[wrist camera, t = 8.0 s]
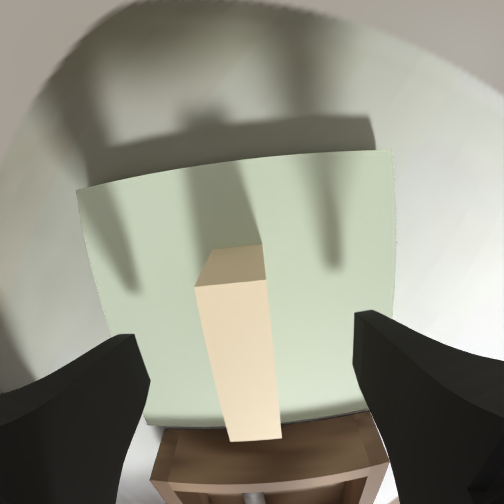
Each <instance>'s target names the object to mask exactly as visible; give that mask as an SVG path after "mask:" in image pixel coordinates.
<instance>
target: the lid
mask: <svg viewBox="0 0 504 504" xmlns="http://www.w3.org/2000/svg"><path fill="white" fill-rule="evenodd" d="M76 195H77V201H78V207H79V213H80V218H81V224H82V229H83V234H84V239H85V243H86V248H87V252H88V256H89V261H90V265H91V269H92V273H93V277H94V280H95V284H96V288H97V291H98V295H99V298H100V302H101V305H102V308H103V312H104V315H105V318H106V321H107V324H108V327H109V330H110V333H111V336H112V337H113V336H116V335H118V334H135V337H136V340H137V343H138V346H139V349H140V352H141V355H142V358H143V361H144V364H145V366H146V369H147V372H148V375H149V377H150V380H151V383H150V387H149V392H148V396H147V400H146V405H145V407H144V410H143V413H142V414H143V416H144V418H145V420H146V422H147V424H148V425H155V426H177V427H223V426H226V428H227V432H228V435H229V439H230V442H237V441H255V440H269V439H279V438H282V433H281V423H282V422H291V421H299V420H306V419H313V418H320V417H326V416H332V415H338V414H343V413H348V412H353V411H358V410H363V409H368V406H367V404H366V401H365V399H364V397H363V395H362V393H361V390H360V388H359V385H358V382H357V379H356V375H355V372H354V368H353V365H352V358H353V337H354V312H360V311H366V310H375V311H377V312H379V313H381V314H383V315H385V316H387V317H389V318H391V319H392V315H393V302H394V287H395V264H396V204H395V182H394V167H393V155H392V150H365V151H339V152H321V153H306V154H294V155H282V156H271V157H262V158H252V159H244V160H236V161H228V162H220V163H213V164H206V165H199V166H193V167H187V168H180V169H174V170H169V171H163V172H158V173H152V174H147V175H142V176H137V177H132V178H127V179H122V180H117V181H113V182H108V183H104V184H99V185H95V186H91V187H87V188H83V189H79V190H76Z"/></svg>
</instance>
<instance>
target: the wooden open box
mask: <svg viewBox="0 0 504 504" xmlns="http://www.w3.org/2000/svg"><path fill="white" fill-rule="evenodd" d="M281 433H282V438H279V439H269V440H255V441H237V442H230V439H229V435H228V432H227V429H215V430H186V429H165V430H164V433H163V437H162V440H161V443H160V446H159V450H158V453H157V456H156V460H155V463H154V466H153V470H152V473H151V477H150V481H151V483H152V484H153V485H154V487H155V488H156V490H157V491H158V492H159V494H160V495H161V496H162V498H163V499H164V500H165V501H166V503H167V504H373V502H374V500H375V498H376V495H377V493H378V491H379V488H380V486H381V483H382V481H383V478H384V476H385V473H386V470H387V468H388V465H389V462H390V461H389V458H388V456H387V453H386V451H385V448H384V446H383V443H382V440H381V438H380V435H379V433H378V430H377V428H376V425H375V423H374V420H373V418H372V415H371V413H370V411H366V412H362V413H357V414H352V415H347V416H342V417H336V418H331V419H325V420H319V421H312V422H305V423H297V424H289V425H281Z"/></svg>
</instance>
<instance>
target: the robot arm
mask: <svg viewBox="0 0 504 504" xmlns="http://www.w3.org/2000/svg"><path fill="white" fill-rule="evenodd" d="M352 365H353V368H354V372H355V375H356V379H357V382H358V385H359V388H360V390H361V393H362V395H363V397H364V399H365V401H366V404H367V406H368V408H369V410H370V412H371V414H372V417H373V419H374V421H375V423H376V425H377V428H378V430H379V432H380V434H381V436H382V439H383V441H384V444H385V447H386V449H387V453H388V456H389V460H390V463H391V467H392V470H393V474H394V478H395V483H396V487H397V491H398V495H399V501H400V504H504V361H501V360H496V359H491V358H487V357H482V356H478V355H475V354H471V353H468V352H465V351H462V350H459V349H456V348H453V347H450V346H448V345H445V344H443V343H440V342H438V341H436V340H433V339H431V338H429V337H426V336H424V335H422V334H420V333H418V332H416V331H414V330H412V329H410V328H408V327H406V326H404V325H402V324H400V323H399V322H397V321H395V320H393V319H391V318H389V317H387V316H385V315H383V314H381V313H379V312H377V311H375V310H366V311H360V312H354V337H353V358H352ZM150 383H151V380H150V377H149V375H148V372H147V369H146V366H145V364H144V361H143V358H142V355H141V352H140V349H139V346H138V343H137V340H136V337H135V334H118V335H116V336H113V337H112V338H110V339H108V340H106V341H104V342H103V343H101V344H99V345H98V346H96V347H95V348H93V349H91V350H90V351H88V352H87V353H85V354H83V355H82V356H80V357H79V358H77V359H75V360H74V361H72V362H70V363H69V364H67V365H65V366H64V367H62V368H60V369H58V370H57V371H55V372H53V373H51V374H50V375H48V376H46V377H44V378H42V379H40V380H38V381H36V382H33V383H31V384H29V385H27V386H24V387H22V388H19V389H16V390H14V391H11V392H8V393H5V394H2V395H0V504H116V497H117V491H118V485H119V481H120V476H121V472H122V467H123V463H124V460H125V457H126V454H127V451H128V448H129V446H130V443H131V441H132V438H133V436H134V433H135V430H136V428H137V425H138V423H139V420H140V418H141V415H142V413H143V410H144V407H145V405H146V400H147V396H148V392H149V387H150Z"/></svg>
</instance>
